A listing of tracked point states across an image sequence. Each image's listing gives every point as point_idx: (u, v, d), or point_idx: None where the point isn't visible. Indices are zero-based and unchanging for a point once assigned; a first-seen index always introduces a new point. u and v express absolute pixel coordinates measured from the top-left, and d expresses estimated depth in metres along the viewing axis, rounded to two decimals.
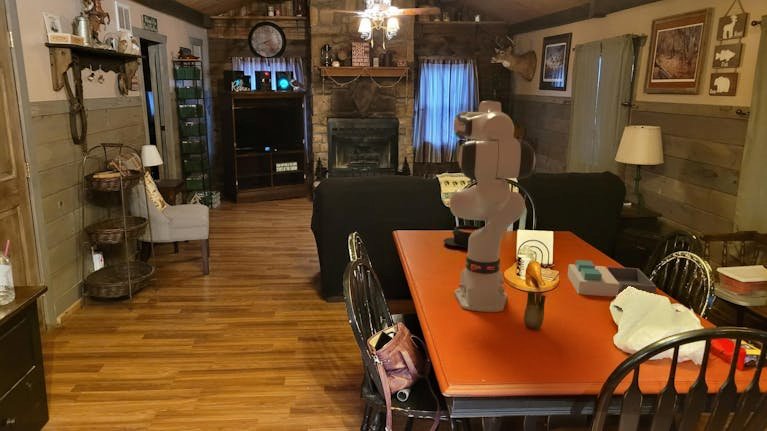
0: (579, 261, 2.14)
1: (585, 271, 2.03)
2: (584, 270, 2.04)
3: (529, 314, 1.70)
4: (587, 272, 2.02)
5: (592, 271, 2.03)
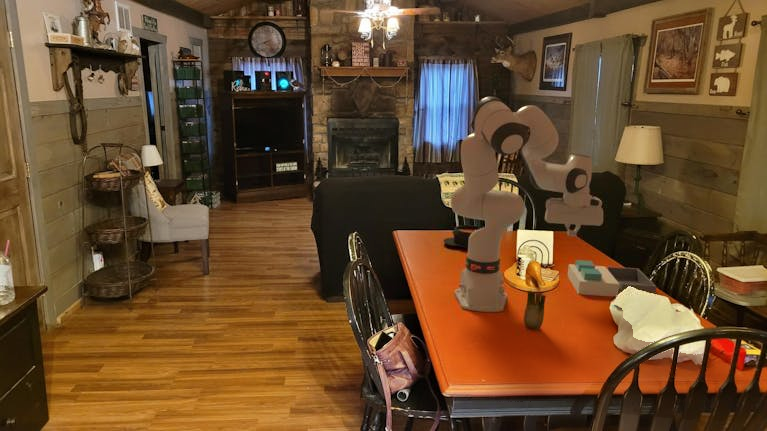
0: (579, 261, 2.14)
1: (585, 271, 2.03)
2: (584, 270, 2.04)
3: (529, 314, 1.70)
4: (587, 272, 2.02)
5: (592, 271, 2.03)
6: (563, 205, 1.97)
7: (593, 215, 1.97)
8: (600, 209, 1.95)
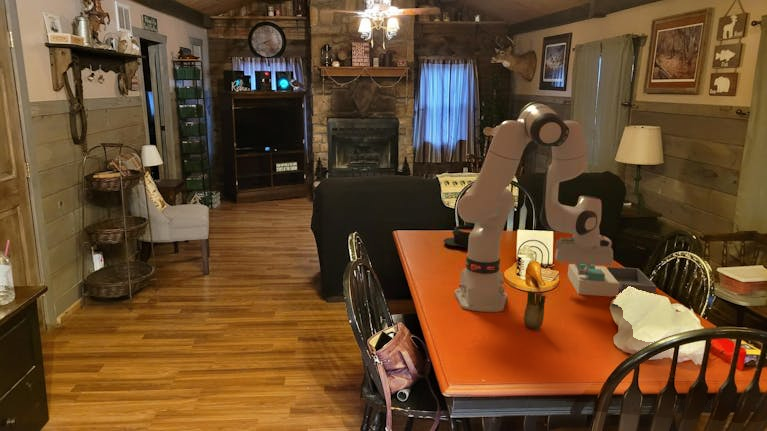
0: None
1: (588, 271, 2.03)
2: None
3: (529, 314, 1.70)
4: (590, 272, 2.01)
5: (595, 271, 2.03)
6: (574, 245, 2.00)
7: (603, 255, 1.99)
8: (610, 249, 1.98)
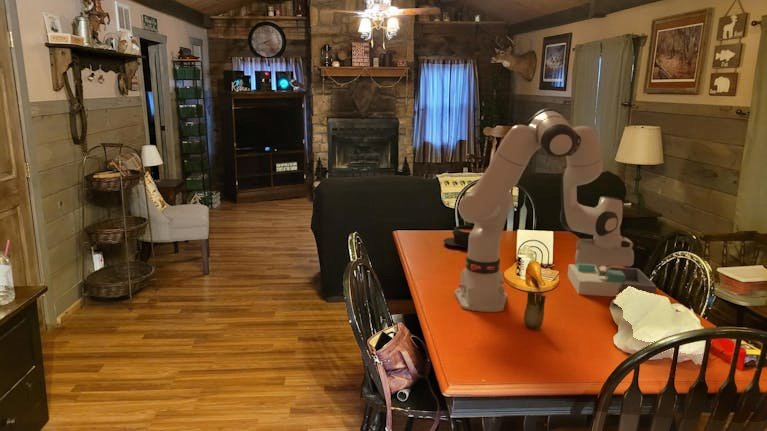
0: None
1: (608, 272, 2.02)
2: (607, 272, 2.03)
3: (529, 314, 1.70)
4: (611, 274, 2.00)
5: (616, 272, 2.02)
6: (594, 247, 1.99)
7: (623, 256, 1.98)
8: (631, 250, 1.97)
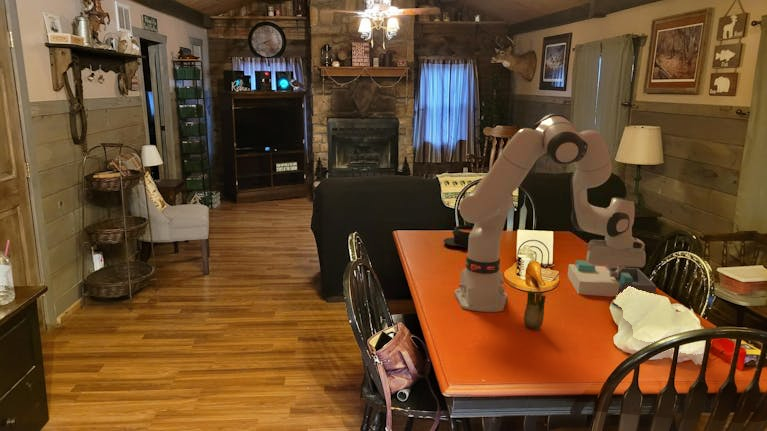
0: (579, 261, 2.14)
1: None
2: None
3: (529, 314, 1.70)
4: None
5: None
6: (606, 248, 1.99)
7: (635, 257, 1.98)
8: (643, 251, 1.97)
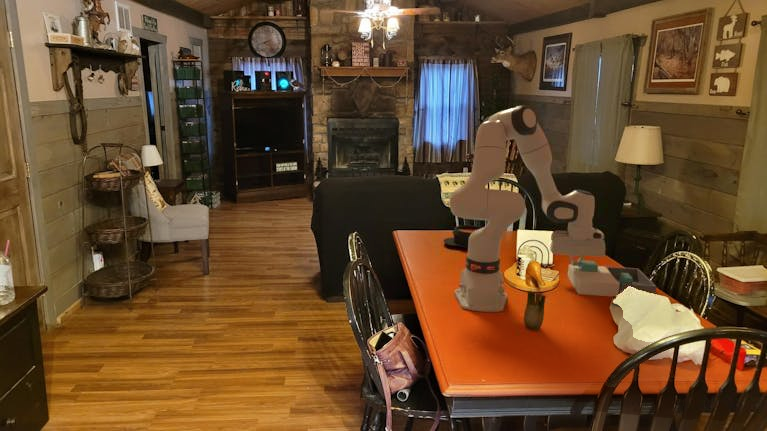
0: (582, 261, 2.14)
1: None
2: None
3: (529, 314, 1.70)
4: None
5: None
6: (568, 238, 2.10)
7: (595, 247, 2.10)
8: (602, 242, 2.08)
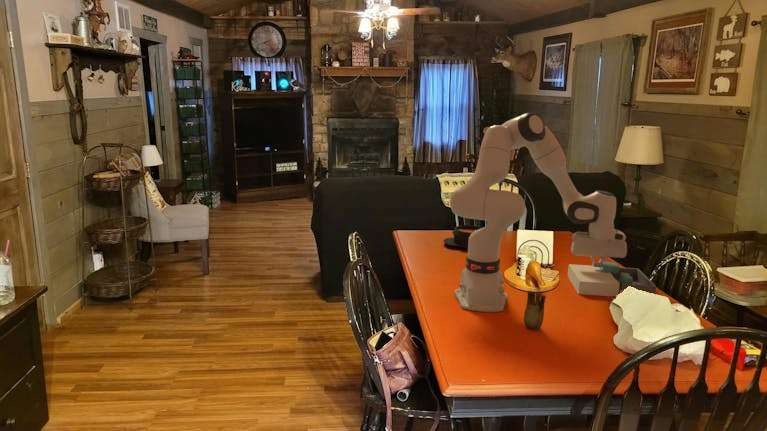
0: (603, 262, 2.13)
1: None
2: None
3: (529, 314, 1.70)
4: None
5: None
6: (589, 239, 2.09)
7: (617, 248, 2.09)
8: (624, 243, 2.07)
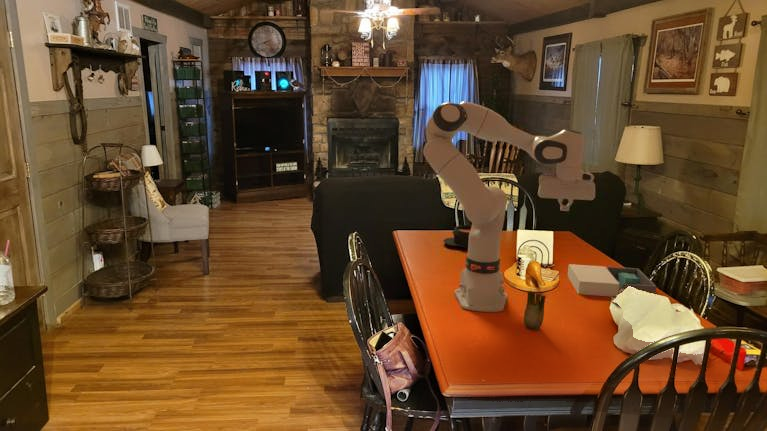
0: None
1: None
2: None
3: (529, 314, 1.70)
4: None
5: None
6: (556, 180, 2.00)
7: (585, 190, 2.00)
8: (592, 183, 1.98)
